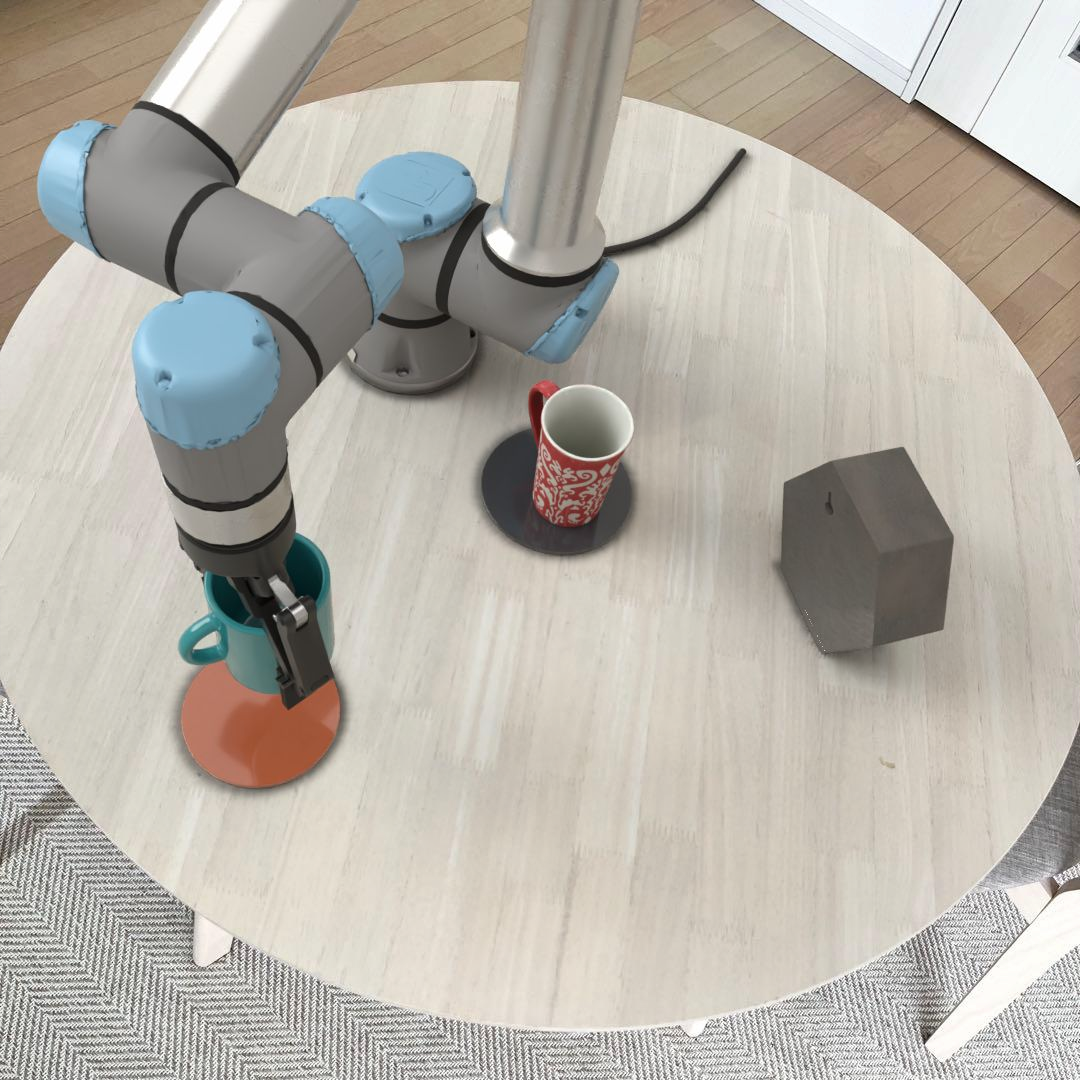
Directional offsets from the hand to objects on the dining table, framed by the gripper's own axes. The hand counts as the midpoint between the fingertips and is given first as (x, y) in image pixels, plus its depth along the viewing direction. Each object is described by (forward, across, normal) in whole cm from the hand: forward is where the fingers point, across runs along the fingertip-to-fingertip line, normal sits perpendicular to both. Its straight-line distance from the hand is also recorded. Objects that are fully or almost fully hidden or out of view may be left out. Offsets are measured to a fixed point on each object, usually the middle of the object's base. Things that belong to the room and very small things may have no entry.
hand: (263, 653), depth 91 cm
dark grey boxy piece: (+14, -24, -51) cm, 58 cm away
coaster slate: (+14, +3, -37) cm, 40 cm away
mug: (+13, +3, -38) cm, 40 cm away
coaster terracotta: (+14, +1, +1) cm, 14 cm away
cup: (+1, 0, 0) cm, 1 cm away
